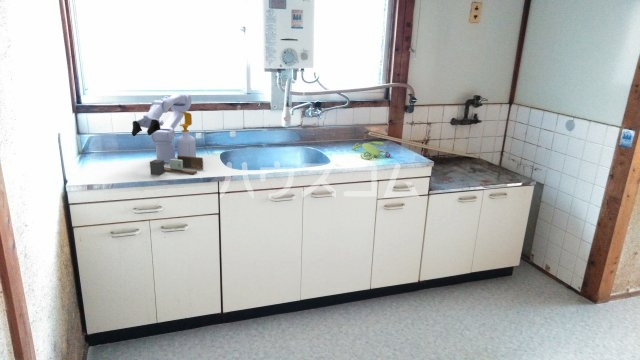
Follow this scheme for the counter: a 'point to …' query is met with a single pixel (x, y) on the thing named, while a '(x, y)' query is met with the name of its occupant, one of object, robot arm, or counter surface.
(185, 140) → the soap bottle
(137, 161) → the counter surface
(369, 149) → the figurine
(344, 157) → the counter surface
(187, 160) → the door frame
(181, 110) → the robot arm
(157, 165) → the block
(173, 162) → the pale green block
